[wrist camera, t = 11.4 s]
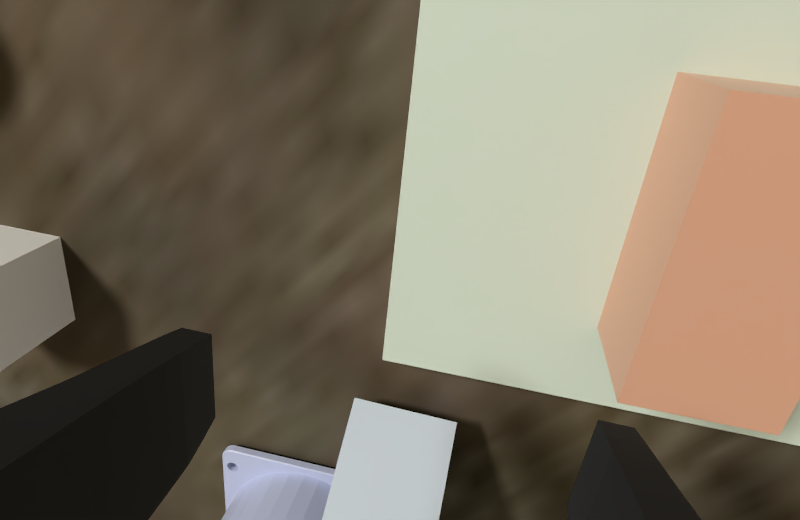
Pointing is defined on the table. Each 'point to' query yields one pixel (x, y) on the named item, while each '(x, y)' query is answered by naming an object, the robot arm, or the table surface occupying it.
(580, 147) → the board
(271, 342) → the table surface
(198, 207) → the table surface
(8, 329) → the off-white cube
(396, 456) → the grey-blue slab
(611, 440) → the robot arm
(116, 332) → the table surface
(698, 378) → the terracotta brick
